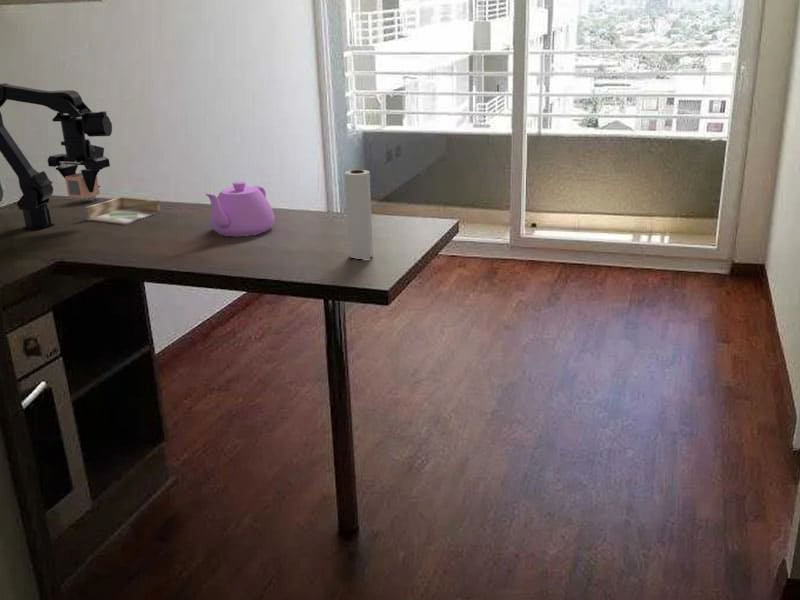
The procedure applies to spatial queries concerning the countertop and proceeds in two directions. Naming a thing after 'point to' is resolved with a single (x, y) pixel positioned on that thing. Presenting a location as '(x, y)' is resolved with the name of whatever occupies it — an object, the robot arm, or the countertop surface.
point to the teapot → (241, 211)
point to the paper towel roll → (359, 213)
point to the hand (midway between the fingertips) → (83, 191)
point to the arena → (122, 210)
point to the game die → (88, 198)
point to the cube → (79, 187)
